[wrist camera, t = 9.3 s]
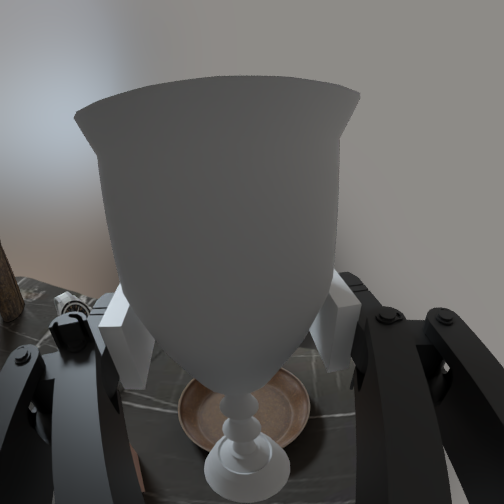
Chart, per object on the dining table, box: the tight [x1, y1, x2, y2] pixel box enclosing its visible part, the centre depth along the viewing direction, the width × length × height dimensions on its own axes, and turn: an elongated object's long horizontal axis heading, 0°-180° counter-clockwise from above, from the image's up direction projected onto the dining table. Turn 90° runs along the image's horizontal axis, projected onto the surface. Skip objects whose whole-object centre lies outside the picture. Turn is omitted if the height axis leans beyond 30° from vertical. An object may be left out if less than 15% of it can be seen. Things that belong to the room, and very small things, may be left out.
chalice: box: [74, 76, 360, 503], centre depth 10 cm, size 7×7×18 cm
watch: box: [54, 292, 92, 318], centre depth 37 cm, size 6×8×11 cm
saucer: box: [178, 367, 310, 452], centre depth 31 cm, size 15×15×3 cm
